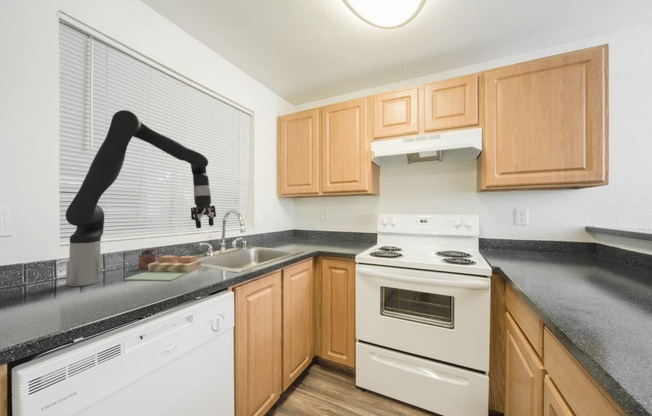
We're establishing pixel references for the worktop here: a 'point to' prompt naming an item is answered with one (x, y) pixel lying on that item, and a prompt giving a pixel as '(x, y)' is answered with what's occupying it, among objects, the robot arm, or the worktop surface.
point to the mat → (157, 276)
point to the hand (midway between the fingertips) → (205, 226)
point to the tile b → (187, 259)
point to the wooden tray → (174, 266)
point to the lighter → (146, 258)
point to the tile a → (168, 258)
